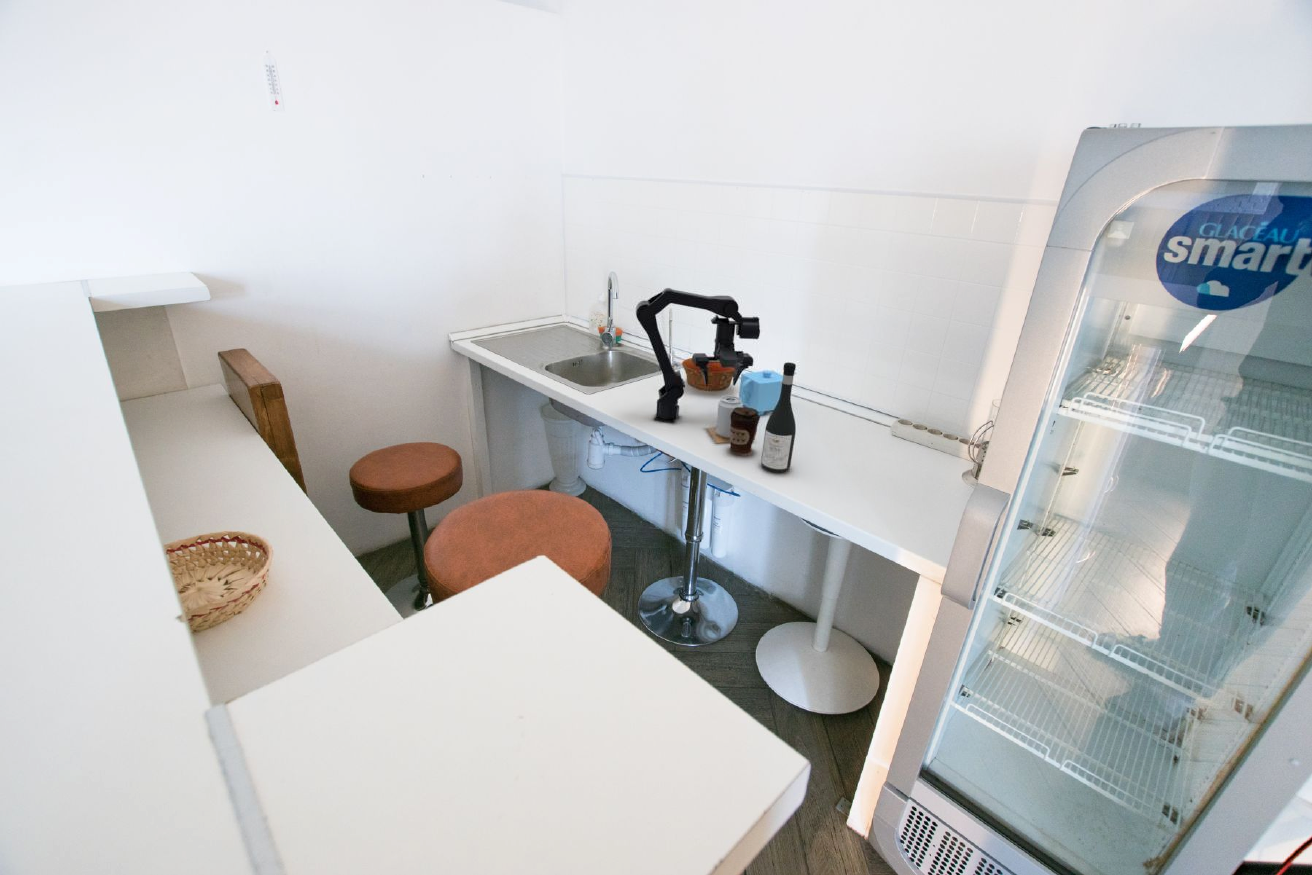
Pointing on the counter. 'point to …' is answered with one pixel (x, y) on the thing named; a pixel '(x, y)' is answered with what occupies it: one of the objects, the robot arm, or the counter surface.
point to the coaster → (717, 436)
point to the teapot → (761, 390)
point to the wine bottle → (780, 428)
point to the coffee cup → (743, 429)
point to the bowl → (716, 376)
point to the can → (726, 414)
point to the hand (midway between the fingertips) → (720, 385)
